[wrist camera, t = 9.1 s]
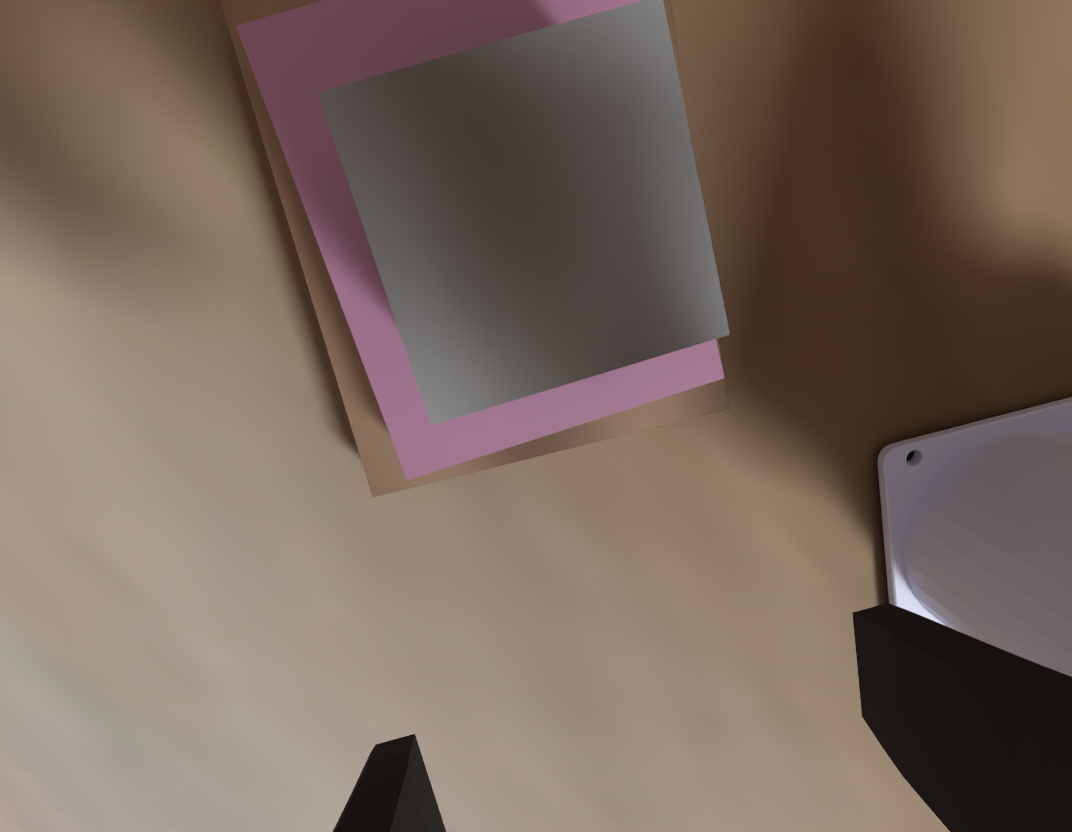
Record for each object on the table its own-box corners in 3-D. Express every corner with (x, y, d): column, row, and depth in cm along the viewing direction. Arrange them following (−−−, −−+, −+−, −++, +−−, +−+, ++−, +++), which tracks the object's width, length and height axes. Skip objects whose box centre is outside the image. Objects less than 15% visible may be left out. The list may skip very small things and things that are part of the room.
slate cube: (592, 73, 14) (661, -6, 10) (645, 303, 16) (729, 334, 11) (362, 139, 14) (317, 92, 9) (437, 366, 16) (431, 425, 11)
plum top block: (600, -48, 16) (622, -88, 14) (695, 362, 18) (724, 378, 17) (262, 51, 15) (235, 25, 13) (411, 454, 18) (407, 480, 16)
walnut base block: (630, -45, 18) (658, -88, 16) (697, 388, 21) (728, 408, 19) (250, 33, 17) (219, 1, 15) (381, 466, 21) (372, 497, 18)
